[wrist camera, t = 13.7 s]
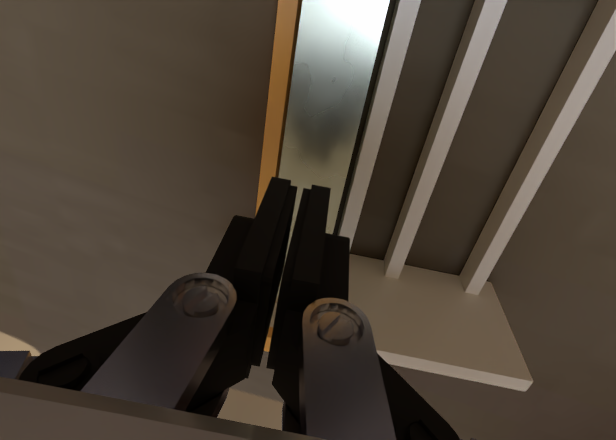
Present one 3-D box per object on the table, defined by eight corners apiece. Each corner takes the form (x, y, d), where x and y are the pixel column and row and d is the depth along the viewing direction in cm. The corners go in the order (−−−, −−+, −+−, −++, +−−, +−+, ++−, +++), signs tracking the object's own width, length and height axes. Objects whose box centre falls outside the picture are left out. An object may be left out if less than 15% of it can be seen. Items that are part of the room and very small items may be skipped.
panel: (324, 233, 24) (313, 310, 18) (284, 225, 24) (261, 300, 18) (386, -39, 16) (400, -45, 11) (327, -51, 16) (310, -63, 11)
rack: (484, 292, 24) (529, 404, 18) (237, 242, 25) (195, 336, 18) (676, -43, 15) (916, -55, 8) (266, -123, 15) (197, -196, 8)
